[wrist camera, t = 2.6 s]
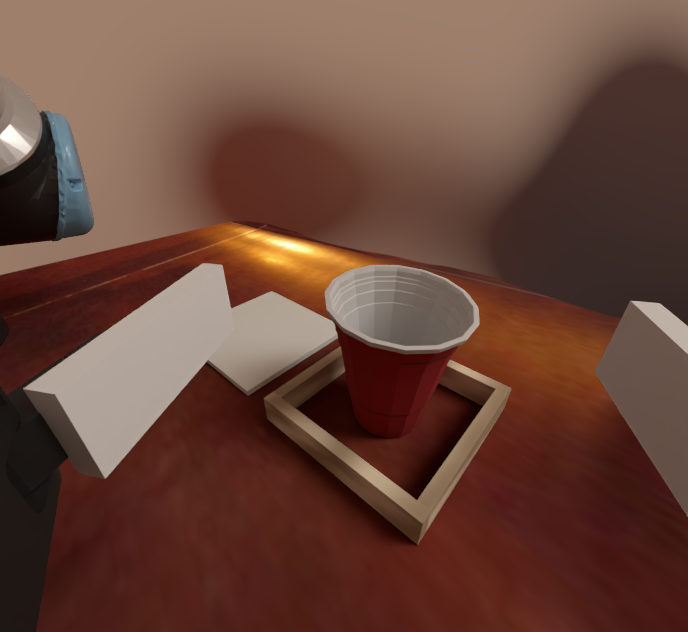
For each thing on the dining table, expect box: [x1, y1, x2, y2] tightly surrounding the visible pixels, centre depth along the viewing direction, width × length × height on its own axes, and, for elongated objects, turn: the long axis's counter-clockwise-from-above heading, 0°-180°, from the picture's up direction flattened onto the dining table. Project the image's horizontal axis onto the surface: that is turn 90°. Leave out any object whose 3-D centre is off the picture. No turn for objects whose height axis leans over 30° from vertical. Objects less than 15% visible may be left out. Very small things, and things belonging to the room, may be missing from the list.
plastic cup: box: [325, 265, 479, 438], centre depth 27 cm, size 11×11×12 cm
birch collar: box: [264, 346, 512, 545], centre depth 30 cm, size 15×15×2 cm
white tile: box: [207, 291, 338, 396], centre depth 40 cm, size 14×14×1 cm
